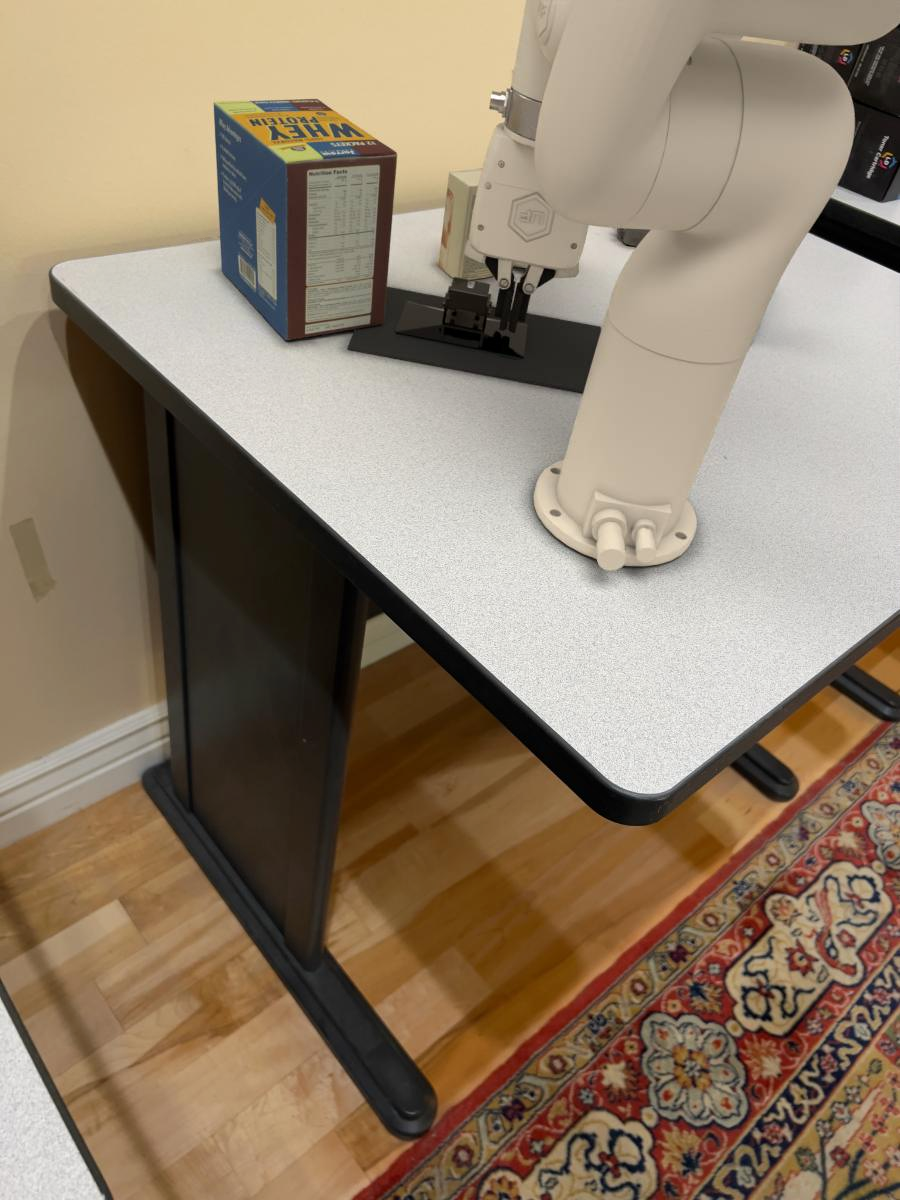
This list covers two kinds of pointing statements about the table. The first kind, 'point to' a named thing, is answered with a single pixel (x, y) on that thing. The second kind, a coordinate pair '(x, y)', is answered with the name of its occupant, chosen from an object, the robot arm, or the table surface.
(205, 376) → the table surface
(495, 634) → the table surface
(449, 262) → the printed cream carton
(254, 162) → the protein box
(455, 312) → the build plate
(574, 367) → the desk mat
